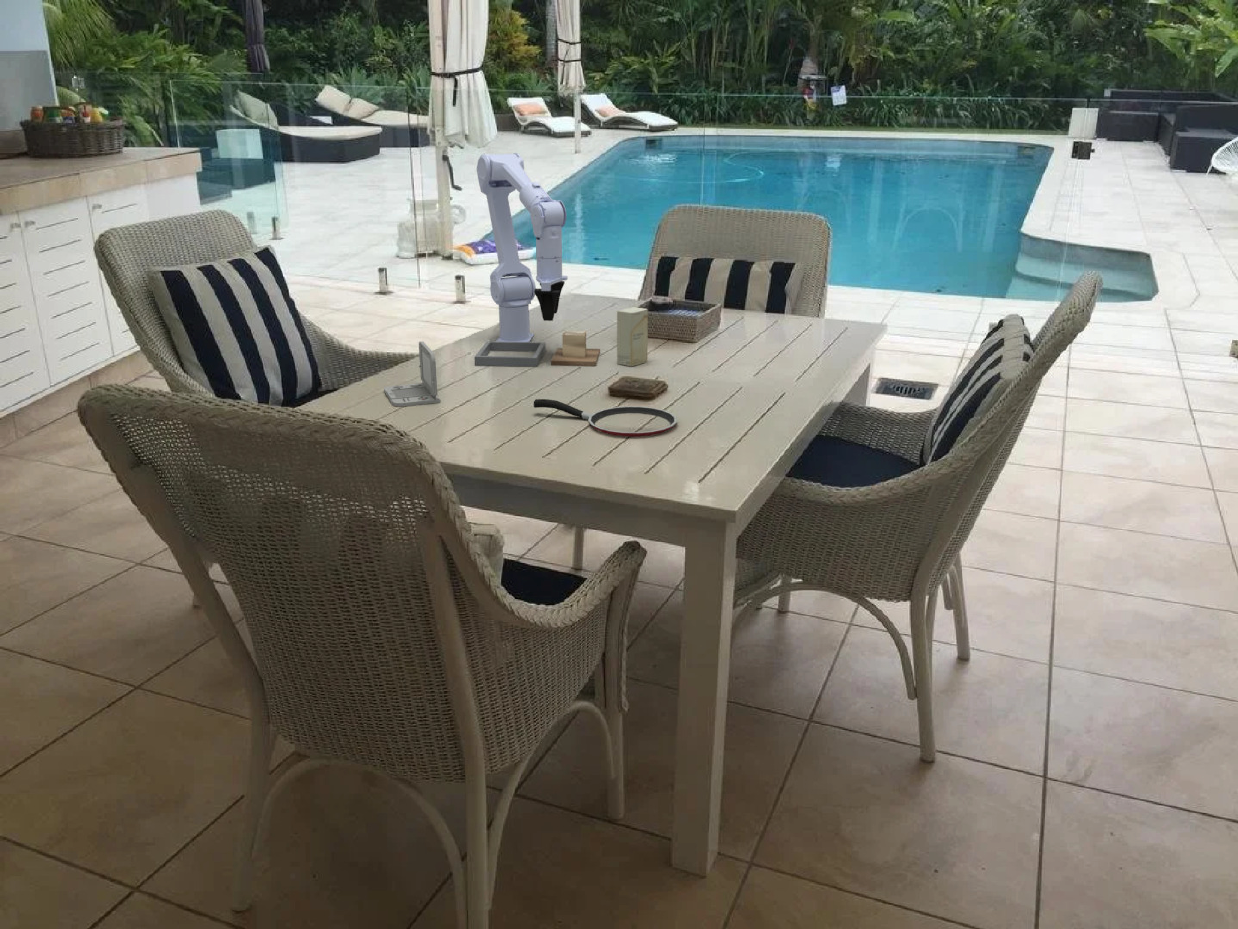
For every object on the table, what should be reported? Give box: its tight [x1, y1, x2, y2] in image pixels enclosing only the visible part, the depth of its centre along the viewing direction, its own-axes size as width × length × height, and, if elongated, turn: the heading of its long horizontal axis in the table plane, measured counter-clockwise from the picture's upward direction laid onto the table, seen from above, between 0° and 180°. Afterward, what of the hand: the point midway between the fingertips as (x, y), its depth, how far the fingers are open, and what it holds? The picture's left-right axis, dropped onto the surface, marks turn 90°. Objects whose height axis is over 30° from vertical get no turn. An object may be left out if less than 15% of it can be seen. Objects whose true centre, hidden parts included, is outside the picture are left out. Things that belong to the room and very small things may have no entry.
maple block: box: [562, 330, 587, 357], centre depth 240 cm, size 4×5×5 cm
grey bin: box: [473, 340, 547, 368], centre depth 242 cm, size 15×14×2 cm
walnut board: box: [550, 347, 601, 367], centre depth 241 cm, size 12×10×1 cm
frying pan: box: [533, 398, 678, 438], centre depth 197 cm, size 28×16×3 cm, turn 72°
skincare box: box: [616, 306, 649, 367], centre depth 236 cm, size 6×4×12 cm
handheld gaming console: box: [383, 341, 441, 408], centre depth 211 cm, size 13×9×10 cm
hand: (550, 316), depth 241 cm, fingers open, 7 cm apart
